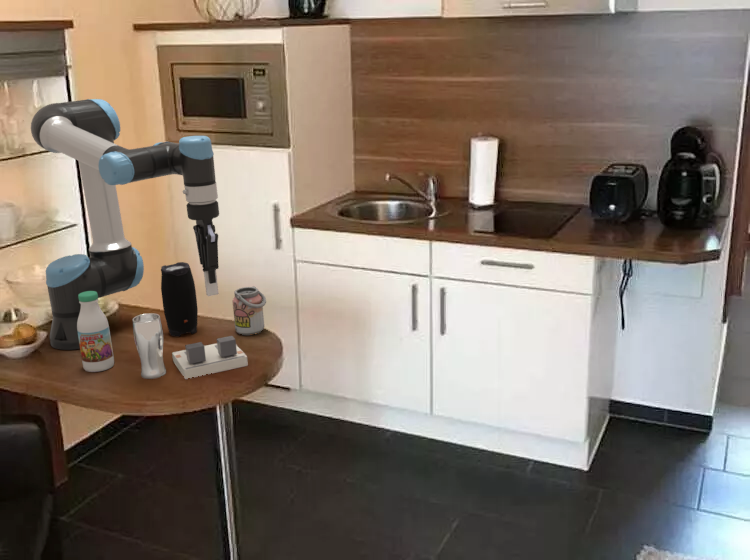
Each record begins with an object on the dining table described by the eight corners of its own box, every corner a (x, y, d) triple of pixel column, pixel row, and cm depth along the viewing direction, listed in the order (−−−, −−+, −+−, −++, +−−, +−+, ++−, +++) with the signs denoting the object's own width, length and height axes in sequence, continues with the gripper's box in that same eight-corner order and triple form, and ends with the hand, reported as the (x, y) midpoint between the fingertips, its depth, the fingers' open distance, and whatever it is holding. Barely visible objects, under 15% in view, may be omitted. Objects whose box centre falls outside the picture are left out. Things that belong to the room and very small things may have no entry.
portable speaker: (198, 336, 232) (190, 269, 226) (164, 338, 231) (155, 271, 225) (201, 325, 240) (194, 260, 234) (169, 327, 239) (160, 262, 233)
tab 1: (187, 359, 208) (185, 345, 207) (202, 356, 210) (201, 341, 208) (190, 364, 205) (188, 349, 204) (205, 360, 207) (204, 345, 206)
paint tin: (273, 328, 235) (270, 287, 231) (256, 338, 228) (252, 297, 224) (247, 324, 239) (243, 284, 236) (229, 334, 232) (225, 293, 228)
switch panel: (173, 361, 215) (171, 352, 214) (232, 348, 221) (232, 339, 221) (185, 379, 204) (184, 369, 203) (247, 365, 210) (247, 356, 209)
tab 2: (218, 353, 211) (216, 338, 210) (233, 350, 213) (232, 335, 212) (221, 357, 209) (220, 342, 207) (236, 354, 210) (235, 339, 209)
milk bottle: (82, 364, 216) (71, 291, 210) (113, 358, 219) (102, 286, 213) (84, 375, 209) (71, 300, 203) (115, 369, 212) (104, 295, 206)
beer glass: (139, 381, 204) (131, 324, 199) (139, 370, 210) (131, 315, 206) (168, 377, 206) (161, 320, 201) (167, 366, 212) (160, 311, 207)
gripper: (179, 199, 204) (190, 290, 211) (194, 208, 193) (205, 304, 200) (209, 195, 207) (219, 285, 214) (225, 203, 196) (235, 298, 203)
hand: (212, 294), depth 207 cm, fingers closed
